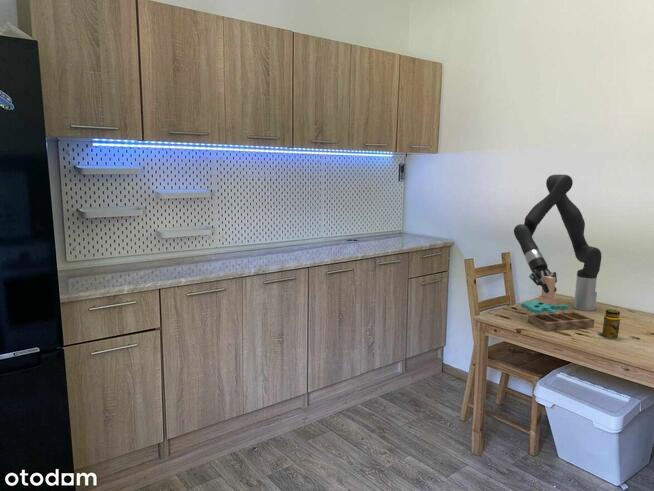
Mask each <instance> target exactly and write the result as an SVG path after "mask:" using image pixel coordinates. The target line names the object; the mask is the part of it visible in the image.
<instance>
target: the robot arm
mask: <svg viewBox="0 0 654 491" xmlns="http://www.w3.org/2000/svg"><path fill="white" fill-rule="evenodd" d="M573 181H574V180H573V179H572V176H570V175H568V174H552V175H549V176H548V177H547V179H546V182H545V186H546V189H547V191H548V194H547V195H546V196H545V197H544V198H543V199H540V201H538V202H537V203H536V204H535V205H534V206H533V207H532V208H531V209H530V211H529V212H528V213H527V215H525V218H524V223H522V224H517V225H516V226H515V227H514V228H513V234H514V238H515V239H516V240H517V243H518V244H519V246H520V249H521V251H522V253H523V256H524V257H525V261H526V262H527V264H528V267H529V268H530V271H531V274H530V275H529V276H528V277H529V279H530V280H531V281H532V282H534V284H535V285H536V286H540V287H541V289H542V288H543V290H544V292H545V293H548V292H549V289H548V287H547V285H546V283H545V280H544V277H543V276H551V277H554V278H556V280H555V284H556V283H557V282H558V280H557V272H556V271H553V272H552V271H551V270H550V269H549V268H548V264H547V261H546V259H545V258H544V256H543V254H542V252H541V250H540V249H539V247H538V245H537V243H536V242H535V240H534V238H533V235H534V233H535V232H536V229H537V227H538V225H539V224H540V223H541V222H542V220H543V219H544V218H545V217H546V215H547V214H549V211H550V210H551V209H552V208H553V207H554V206H556V208H557V211H558V213H559V215H560V218H561V220H562V223H563V226H564V227H565V230H566V232H567V234H568V237H569V240H570V241H571V244H572V248H573V252H574V256H575V258H576V260H577V261H579V262H580V263H583V267H582V268H581V269H578V270H577V272H576V282H575V291H574V299H573V301H574V302H573V308H574V309H576V310H579V311H589V312H590V311H595V310H596V306H597V294H598V293H597V292H596V288H597V280H598V275H599V272H600V270H601V264H602V252H601V250H600V249H599V248H598V247H595V246H591V245H589V244H588V242H587V241H586V237H585V227H586V223H585V222H586V221H585V219H584V217H583V214H582V212H581V211H580V209H579V207H577V205H576V204H574V203H573V201H571V199H570V198H569V197H568V195H567V193H569V191H570V190H571V189H572V187H573V184H574V182H573ZM556 292H557V287H556V286H555V290H554V294H555V293H556Z"/></svg>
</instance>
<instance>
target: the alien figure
mask: <svg viewBox="0 0 654 491" xmlns="http://www.w3.org/2000/svg"><path fill="white" fill-rule="evenodd" d="M521 307H522V308H524V309H525V308H526V310H527V311H529V310H530V313H533V312H534V313H533V314H538V313H539V314H542V313H543V312H546V314H547V313H558V312H557V310H569V307H570V305H568V304H563V305H562V304H558V305H557V304H545V303H543V302H540V301H539V300H535V301H534V300H530V301H527V300H525V301H523V302H522V303H521Z"/></svg>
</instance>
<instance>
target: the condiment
mask: <svg viewBox="0 0 654 491" xmlns="http://www.w3.org/2000/svg"><path fill="white" fill-rule="evenodd" d="M620 314H621V312H620V311H619V310H617V309H610V308H608V309H606V310H605V314H604V317H603V325H602V326H603V327H602V332H600V331H596V338H600V339H601V338H602V339H605V340H606V339H607V340H613V341H620V337H619V334H620V323H621V318H620Z"/></svg>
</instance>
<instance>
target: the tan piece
mask: <svg viewBox="0 0 654 491" xmlns="http://www.w3.org/2000/svg"><path fill="white" fill-rule="evenodd" d="M543 277H544V280H545V283H546V285H547V287H548V289H549V292H548V293H545V292H544V290H543V288H542V287H541V295H538V301H540V302H543V303H545V304H551V305H557V304H556V303H557V298H556V297H555V293H554V290H555V287H556V283H555V280H556V278H554V277H551V276H543Z"/></svg>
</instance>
